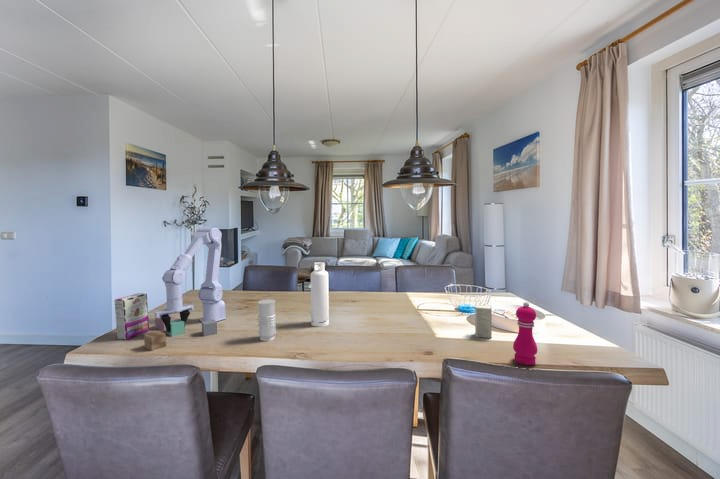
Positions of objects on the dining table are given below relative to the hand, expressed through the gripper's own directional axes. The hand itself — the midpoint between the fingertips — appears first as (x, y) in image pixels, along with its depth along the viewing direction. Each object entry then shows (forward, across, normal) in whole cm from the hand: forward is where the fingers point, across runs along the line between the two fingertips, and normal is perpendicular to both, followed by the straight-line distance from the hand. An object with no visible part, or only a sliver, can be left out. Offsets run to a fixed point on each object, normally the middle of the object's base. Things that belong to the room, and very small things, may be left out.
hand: (175, 330), depth 137 cm
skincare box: (+2, +78, -101) cm, 128 cm away
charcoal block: (+2, +9, -11) cm, 14 cm away
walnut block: (+2, -11, -10) cm, 15 cm away
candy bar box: (+2, -12, +12) cm, 17 cm away
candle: (+2, +21, -35) cm, 41 cm away
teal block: (+1, 0, 0) cm, 1 cm away
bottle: (+2, +47, -38) cm, 60 cm away
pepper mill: (+2, +63, -120) cm, 136 cm away
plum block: (+2, 0, +12) cm, 12 cm away
